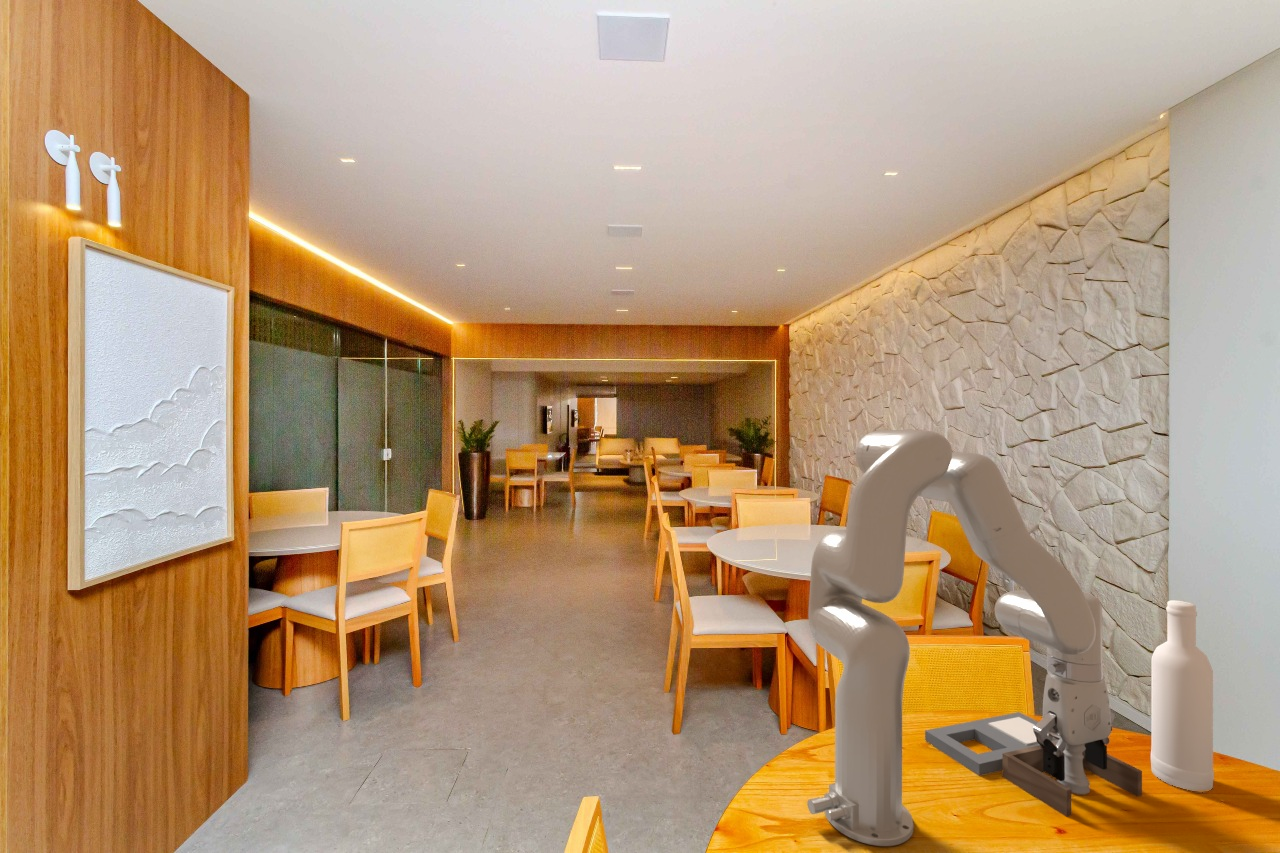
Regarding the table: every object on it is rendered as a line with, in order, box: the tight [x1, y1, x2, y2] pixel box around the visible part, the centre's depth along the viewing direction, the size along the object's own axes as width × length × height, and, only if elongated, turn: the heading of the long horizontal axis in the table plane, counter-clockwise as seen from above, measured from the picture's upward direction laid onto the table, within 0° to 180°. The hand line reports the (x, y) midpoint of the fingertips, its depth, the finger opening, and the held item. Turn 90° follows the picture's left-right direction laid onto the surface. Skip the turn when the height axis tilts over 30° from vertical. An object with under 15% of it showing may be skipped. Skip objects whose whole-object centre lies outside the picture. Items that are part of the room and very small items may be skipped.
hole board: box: [924, 711, 1060, 776], centre depth 112 cm, size 24×12×2 cm, turn 109°
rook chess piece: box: [1056, 743, 1091, 796], centre depth 99 cm, size 4×4×8 cm
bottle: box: [1150, 599, 1215, 792], centre depth 101 cm, size 8×8×30 cm
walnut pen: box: [1001, 741, 1143, 817], centre depth 99 cm, size 17×11×4 cm, turn 109°
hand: (1075, 770), depth 99 cm, fingers open, 9 cm apart
